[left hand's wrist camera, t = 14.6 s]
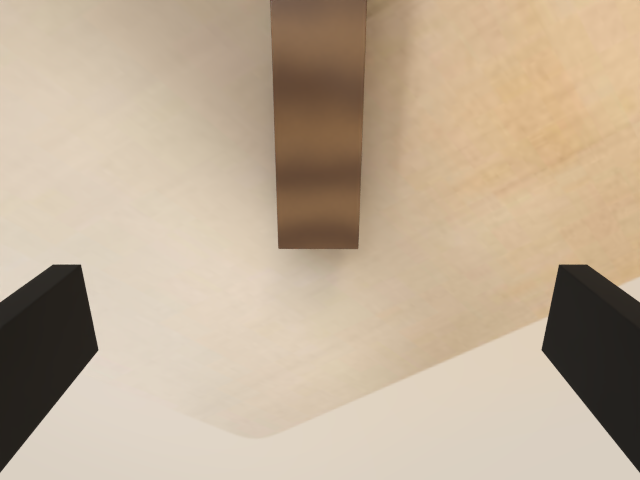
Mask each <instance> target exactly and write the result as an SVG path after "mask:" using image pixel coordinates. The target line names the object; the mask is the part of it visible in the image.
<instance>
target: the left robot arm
mask: <svg viewBox="0 0 640 480" xmlns="http://www.w3.org/2000/svg"><path fill="white" fill-rule="evenodd" d="M97 351H98V346H97V341H96V336H95V331H94V326H93V321H92V316H91V311H90V307H89V302H88V297H87V292H86V287H85V282H84V277H83V273H82V268H81V265H52V266H50V267H49V268H48V269H46V270H45V271H43V272H42V273H41V274H39V275H38V276H36V277H35V278H34V279H32V280H31V281H29V282H28V283H27V284H25V285H24V286H23V287H21V288H20V289H18V290H17V291H16V292H14V293H13V294H11V295H10V296H9V297H7V298H6V299H4V300H3V301H2V302H0V472H1V471H2V470H3V468H4V467H5V466H6V465H7V464H8V462H9V461H10V460H11V459H12V457H13V456H14V455H15V454H16V452H17V451H18V450H19V449H20V447H21V446H22V445H23V444H24V442H25V441H26V440H27V439H28V437H29V436H30V435H31V434H32V432H33V431H34V430H35V429H36V427H37V426H38V425H39V423H40V422H41V421H42V420H43V419H44V417H45V416H46V415H47V414H48V412H49V411H50V410H51V409H52V407H53V406H54V405H55V404H56V402H57V401H58V400H59V399H60V397H61V396H62V395H63V394H64V392H65V391H66V390H67V389H68V387H69V386H70V385H71V384H72V382H73V381H74V380H75V379H76V377H77V376H78V375H79V374H80V372H81V371H82V370H83V369H84V367H85V366H86V365H87V364H88V362H89V361H90V360H91V359H92V357H93V356H94V355H95V354H96V352H97ZM542 351H543V352H544V354H545V355H546V356H547V357H548V359H549V360H550V361H551V362H552V364H553V365H554V366H555V367H556V369H557V370H558V371H559V372H560V374H561V375H562V376H563V377H564V379H565V380H566V381H567V382H568V384H569V385H570V386H571V387H572V389H573V390H574V391H575V392H576V394H577V395H578V396H579V397H580V399H581V400H582V401H583V402H584V404H585V405H586V406H587V407H588V409H589V410H590V411H591V412H592V414H593V415H594V416H595V417H596V419H597V420H598V421H599V422H600V424H601V425H602V426H603V427H604V429H605V430H606V431H607V432H608V434H609V435H610V436H611V437H612V439H613V440H614V441H615V442H616V444H617V445H618V446H619V447H620V449H621V450H622V451H623V452H624V454H625V455H626V456H627V457H628V458H629V460H630V461H631V462H632V463H633V465H634V466H635V467H636V468H637V470H638V471H639V472H640V302H638V301H637V300H636V299H634V298H633V297H631V296H630V295H629V294H627V293H626V292H624V291H623V290H622V289H620V288H619V287H617V286H616V285H615V284H613V283H612V282H611V281H609V280H608V279H606V278H605V277H604V276H602V275H601V274H599V273H598V272H597V271H595V270H594V269H592V268H591V267H590V266H588V265H559V268H558V273H557V277H556V282H555V287H554V292H553V297H552V302H551V307H550V311H549V316H548V321H547V326H546V331H545V336H544V341H543V346H542Z"/></svg>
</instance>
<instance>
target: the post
mask: <svg viewBox="0 0 640 480" xmlns="http://www.w3.org/2000/svg"><path fill="white" fill-rule="evenodd" d="M270 2H271V34H272V65H273V96H274V127H275V158H276V189H277V220H278V248H279V249H358V240H359V211H360V183H361V154H362V126H363V98H364V69H365V41H366V12H367V0H270Z"/></svg>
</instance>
